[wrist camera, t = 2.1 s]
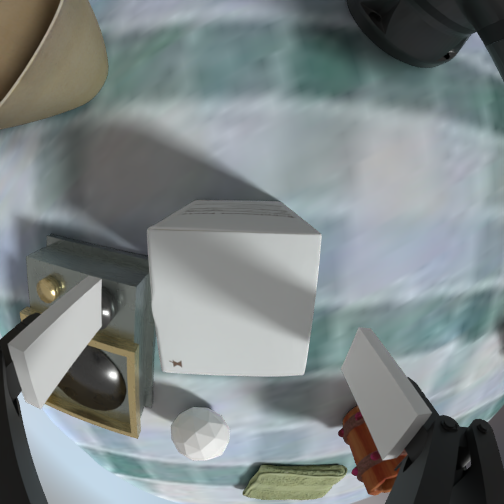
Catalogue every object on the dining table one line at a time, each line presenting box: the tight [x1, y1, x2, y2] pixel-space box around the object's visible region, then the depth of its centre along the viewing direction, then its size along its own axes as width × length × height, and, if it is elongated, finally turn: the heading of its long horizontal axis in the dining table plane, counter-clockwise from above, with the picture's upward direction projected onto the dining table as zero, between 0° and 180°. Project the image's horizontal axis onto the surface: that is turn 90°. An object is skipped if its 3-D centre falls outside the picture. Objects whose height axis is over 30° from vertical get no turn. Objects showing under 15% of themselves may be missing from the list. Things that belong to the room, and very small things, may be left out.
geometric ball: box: [171, 407, 230, 461], centre depth 32 cm, size 8×8×8 cm
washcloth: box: [243, 465, 347, 500], centre depth 41 cm, size 13×18×3 cm
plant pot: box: [0, 0, 108, 129], centre depth 16 cm, size 15×15×16 cm
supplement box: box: [147, 200, 322, 376], centre depth 22 cm, size 9×9×15 cm
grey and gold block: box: [20, 234, 156, 439], centre depth 28 cm, size 22×15×8 cm
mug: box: [338, 405, 407, 495], centre depth 30 cm, size 15×8×15 cm, turn 95°
